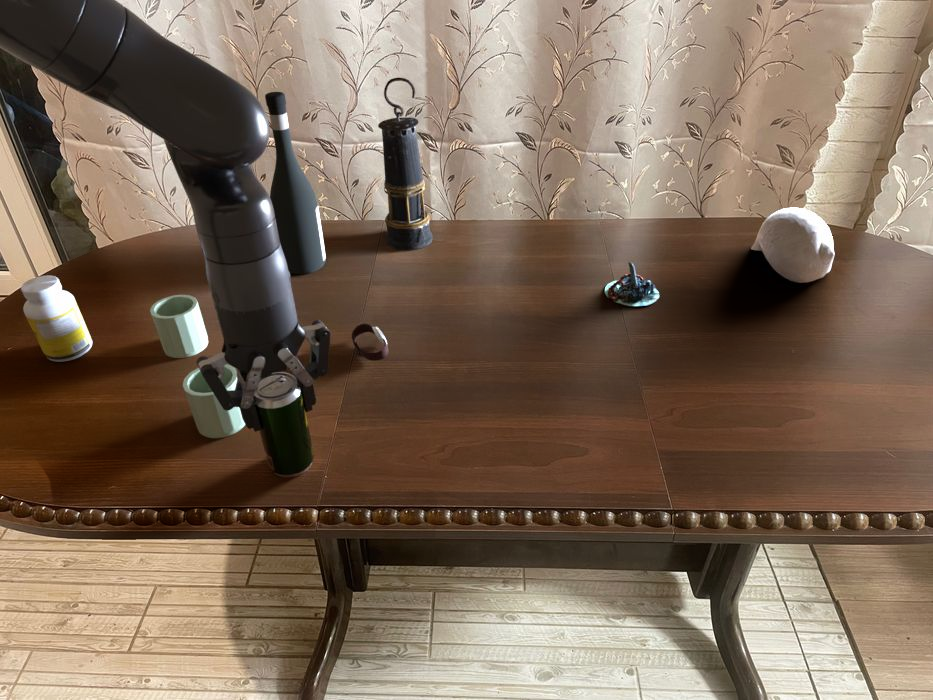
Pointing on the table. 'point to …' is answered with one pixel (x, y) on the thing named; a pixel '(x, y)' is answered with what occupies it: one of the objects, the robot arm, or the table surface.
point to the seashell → (796, 244)
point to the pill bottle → (55, 319)
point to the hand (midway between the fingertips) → (281, 416)
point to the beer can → (283, 425)
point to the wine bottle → (293, 198)
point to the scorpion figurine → (632, 290)
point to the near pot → (212, 405)
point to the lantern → (404, 181)
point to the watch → (379, 335)
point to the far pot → (179, 326)
